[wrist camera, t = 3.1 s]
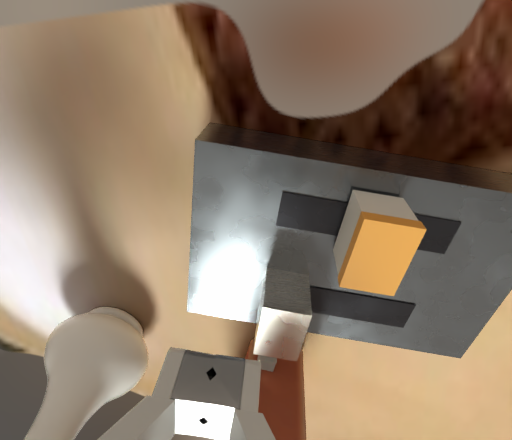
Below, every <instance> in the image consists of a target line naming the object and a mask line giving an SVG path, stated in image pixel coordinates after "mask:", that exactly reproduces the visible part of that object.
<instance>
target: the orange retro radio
mask: <svg viewBox="0 0 512 440" xmlns="http://www.w3.org/2000/svg"><path fill="white" fill-rule="evenodd" d="M254 340H255V339H252V340H251V342H250V345H249V348H248V351H247V354H246V357H245V359H248V360H256V361H260V362H261V376H260V391H259V407H258V413H263V415H264V417H265V419H266V421H267V423H268V425H269V427H270V429H271V431H272V433H273V435H274V437H275V439H276V440H306V420H305V397H304V373H303V352H302V350H301V351H300V354H299V357H298V360H297V361H291V360H285V359H280V358H274V357H268V356H262V355H256V354H253V349H254Z"/></svg>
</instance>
